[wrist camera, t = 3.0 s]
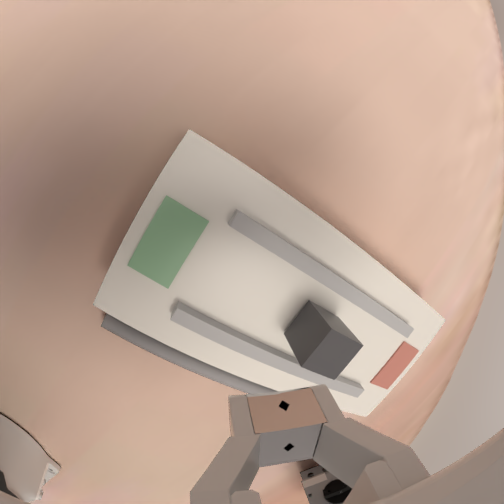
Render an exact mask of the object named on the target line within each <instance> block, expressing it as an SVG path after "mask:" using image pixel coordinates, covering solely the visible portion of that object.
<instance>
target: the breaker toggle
mask: <svg viewBox="0 0 504 504" xmlns="http://www.w3.org/2000/svg"><path fill="white" fill-rule="evenodd" d="M284 335H285V337H286V339H287V341H288V343H289V345H290V347H291V349H292V351H293V353H294V355H295V356H296V358H297V360H298V362H299V364H300V366H301V367H302V368H305V369H307V370H310V371H312V372H315V373H317V374H320V375H322V376H325V377H327V378H330V379H333V380H335V379H336V378H337V377H338V376H339V374H340V373H341V372H342V371H343V370H344V369H345V367H346V366H347V365H348V364H349V363H350V361H351V360H352V359H353V358H354V357H355V355H356V354H357V353H358V352H359V351H360V349H361V348H362V347H363V346H364V345H363V344H362V343H361V342H360V341H359V340H358V339H357V337H356V336H355V335H354V334H353V333H352V332H351V331H350V329H349V328H348V327H347V326H346V325H345V324H344V323H343V322H342V320H341V319H340V318H339V317H338V316H336V315H334V314H332V313H331V312H329V311H327V310H325V309H324V308H322V307H320V306H319V305H317V304H315V303H313V302H312V301H310V300H308V302H307V303H306V304H305V306H304V307H303V308H302V310H301V311H300V312H299V314H298V315H297V316H296V318H295V319H294V320H293V322H292V323H291V324H290V326H289V327H288V328H287V330H286V331H285V332H284Z"/></svg>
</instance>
